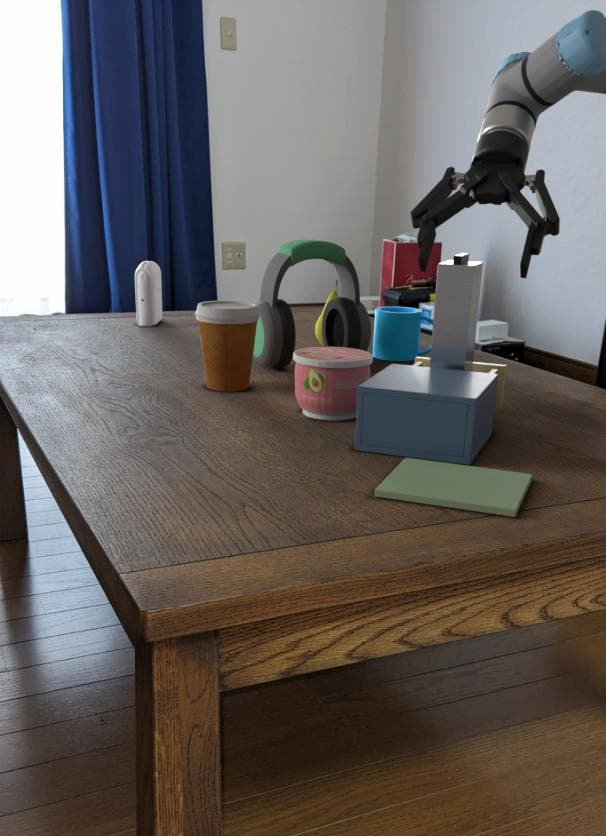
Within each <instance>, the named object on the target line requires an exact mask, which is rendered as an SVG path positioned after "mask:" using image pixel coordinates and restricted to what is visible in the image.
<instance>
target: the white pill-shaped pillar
mask: <svg viewBox="0 0 606 836" xmlns="http://www.w3.org/2000/svg"><path fill="white" fill-rule="evenodd" d="M162 286H163V285H162V269H161V268H160V266H159V264H158V263H156V262H155V261H153V260H144V261H142V262H140V263H139V265H138V266H137V268H136V269H135V272H134V290H135V291H134V293H135V294H134V295H135V314H136V315H135V316H136V324H137V325H138V326H139V327H153V326H155V325H157V324H158V323H159V322H160V321H161V320H162V319H163V291H162V290H163V289H162Z"/></svg>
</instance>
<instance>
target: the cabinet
mask: <svg viewBox="0 0 606 836" xmlns="http://www.w3.org/2000/svg"><path fill="white" fill-rule="evenodd" d="M497 380H498V374H492V373H481V372H471V371H461V370H451V369H441V368H430V367H420V366H412V365H409V364H398V363H391V364H389V365H388V366H386V367H385V368H383V369H382V370H380V371H379V372H377V373H375V374H374V375H373V376H370V379H368V380H367V381H365V382H364V383H362V384H361V385H359V386H358V393H357V412H356V417H355V434H354V451H358V452H367V453H375V454H381V455H388V456H389V455H390V456H397V457H404V458H413V459H420V460H428V461H436V462H443V463H451V464H458V465H466V466H471V464H472V462H473V461H474V460H475V458H476V457H477V456H478V455H479V453H480V451H481V450H482V448H483V447H484V446H485V444H486V443H487V441H488V440H489V438H490V437H491V436H492V434H493V428H494V427H493V426H494V417H495V409H496V408H495V400H496V391H497V382H498V381H497Z"/></svg>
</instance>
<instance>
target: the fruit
mask: <svg viewBox="0 0 606 836" xmlns="http://www.w3.org/2000/svg"><path fill="white" fill-rule="evenodd" d="M338 282H339V280H338V279H336V280H335V282H334V283H335V288H334V290H333V291H331V293H330V294H329V295H328V298H327V299H326V302H325V304H324V306H323V309H322V312H321V314H320V316H319V317H318V319H317V321H316V323H315V328H314V330H315V331H314V333H315V337H316V339H317V341H318V342H319V344H320V345H321V346H322V347H324V344H323V339H322V319H323V313H324V310H325V307H326V305H327V303H328V302H329V301H330V300H331V299H333V298H335V297H340V296H339V294H338V291H337V289H338V285H339V284H338Z"/></svg>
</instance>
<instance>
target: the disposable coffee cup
mask: <svg viewBox="0 0 606 836" xmlns="http://www.w3.org/2000/svg"><path fill="white" fill-rule="evenodd" d="M194 316H195V317H196V320H197V323H198V332H199V339H200V347H201V353H202V361H203V367H204V375H205V381H206V382H205V383H206V387H207V388H208V389H209V390H212V391H218V392H241V391H244V390H247V389H249V388H250V383H251V373H252V366H253V359H254V358H253V351H254V344H255V336H256V328H257V321H258V320H259V317H260V313H259V311H258V307H257V303H254V302H251V301H250V302H249V301H242V300H207V301H201V302H198V303H197V306H196V310H195V311H194Z"/></svg>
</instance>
